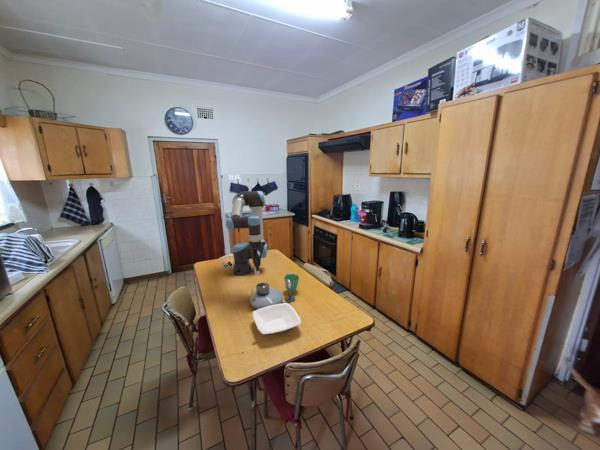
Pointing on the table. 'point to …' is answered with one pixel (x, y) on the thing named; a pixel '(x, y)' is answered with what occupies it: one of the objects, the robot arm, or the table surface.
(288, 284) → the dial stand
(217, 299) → the table surface
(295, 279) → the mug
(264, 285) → the cover
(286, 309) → the bowl
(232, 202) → the robot arm
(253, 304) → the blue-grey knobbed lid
